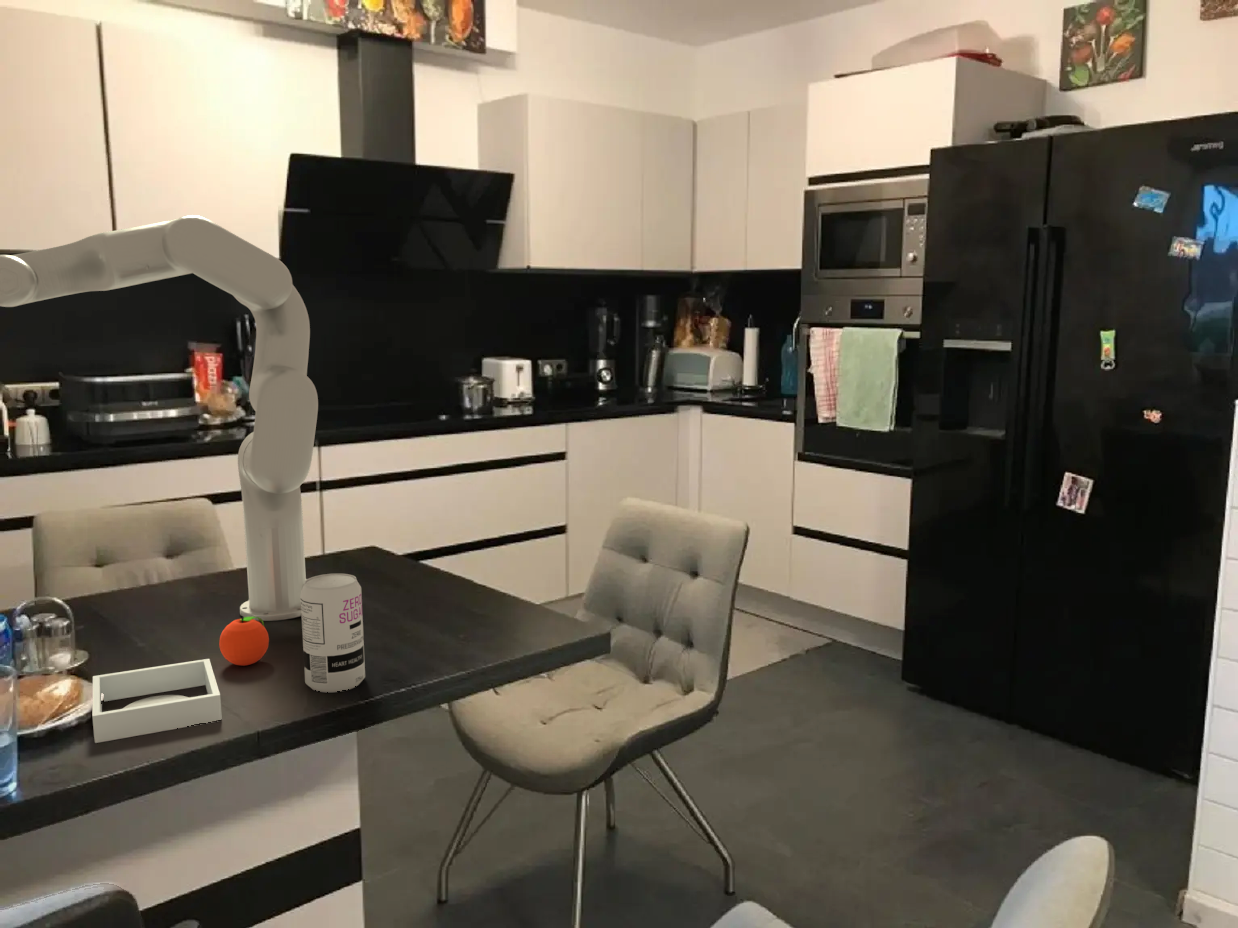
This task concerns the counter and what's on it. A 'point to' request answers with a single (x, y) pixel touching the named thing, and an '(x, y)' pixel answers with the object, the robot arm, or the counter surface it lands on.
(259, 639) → the clementine
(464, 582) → the counter surface
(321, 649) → the supplement can
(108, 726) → the hollow rectangular sleeve
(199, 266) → the robot arm
